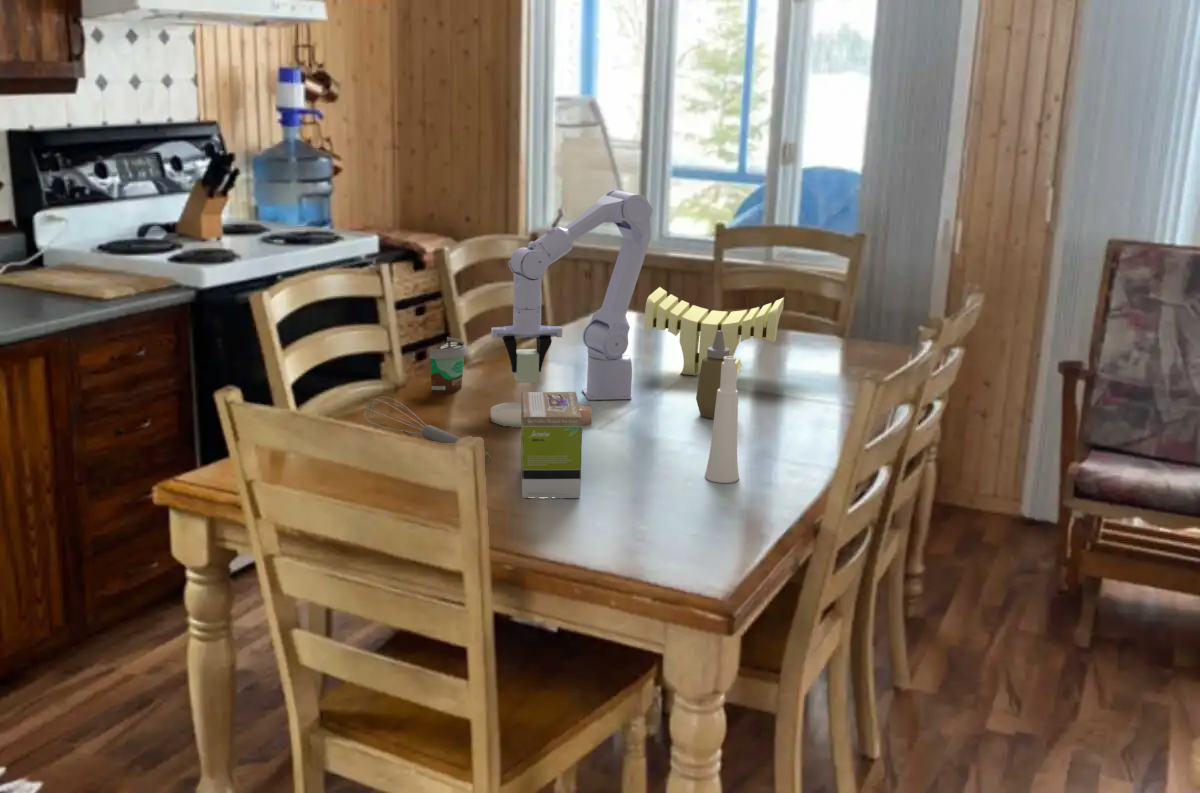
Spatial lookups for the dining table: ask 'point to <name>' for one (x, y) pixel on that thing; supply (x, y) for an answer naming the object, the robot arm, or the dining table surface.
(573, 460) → the tea box
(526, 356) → the sage block
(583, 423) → the tan rounded knob
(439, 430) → the kitchen whisk
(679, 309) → the slatted curved stool
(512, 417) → the stand
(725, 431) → the cosmetic bottle
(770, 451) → the dining table surface
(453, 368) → the food container
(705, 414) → the squeeze bottle
